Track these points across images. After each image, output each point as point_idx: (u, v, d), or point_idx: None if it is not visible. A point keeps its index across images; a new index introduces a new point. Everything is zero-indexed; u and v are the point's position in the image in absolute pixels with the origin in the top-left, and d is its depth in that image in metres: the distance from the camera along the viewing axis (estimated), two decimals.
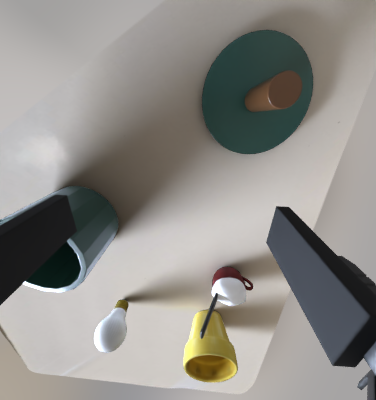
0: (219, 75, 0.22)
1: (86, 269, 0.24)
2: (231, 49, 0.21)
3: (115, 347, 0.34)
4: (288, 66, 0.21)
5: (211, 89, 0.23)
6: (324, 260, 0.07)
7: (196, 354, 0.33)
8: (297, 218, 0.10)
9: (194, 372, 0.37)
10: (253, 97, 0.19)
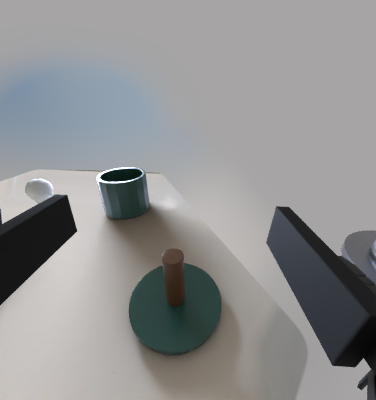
0: (195, 273, 0.31)
1: (105, 182, 0.44)
2: (209, 280, 0.30)
3: (29, 184, 0.46)
4: (197, 322, 0.24)
5: (187, 268, 0.32)
6: (324, 260, 0.07)
7: None
8: (297, 218, 0.10)
9: None
10: None
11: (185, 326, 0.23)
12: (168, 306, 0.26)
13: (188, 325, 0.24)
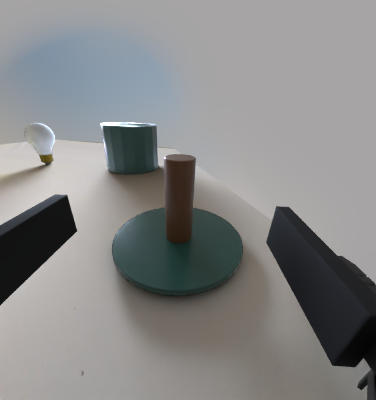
0: (206, 216, 0.23)
1: (109, 125, 0.38)
2: (226, 224, 0.22)
3: (28, 126, 0.42)
4: (207, 262, 0.16)
5: (196, 211, 0.24)
6: (324, 260, 0.07)
7: None
8: (297, 218, 0.10)
9: None
10: None
11: (189, 264, 0.16)
12: (168, 242, 0.18)
13: (194, 263, 0.16)
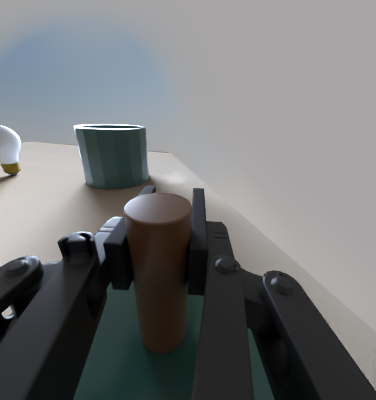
0: None
1: (82, 128, 0.30)
2: None
3: None
4: None
5: None
6: (193, 221, 0.09)
7: None
8: (202, 196, 0.12)
9: None
10: None
11: None
12: (141, 351, 0.10)
13: None
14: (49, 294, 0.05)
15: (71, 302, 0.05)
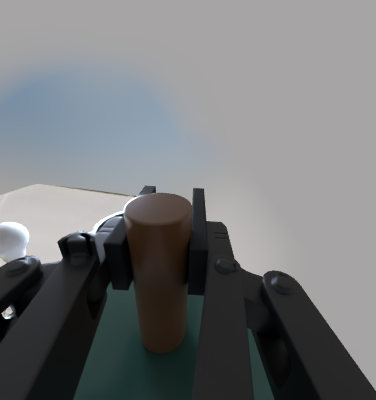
0: None
1: None
2: None
3: None
4: None
5: None
6: (193, 221, 0.09)
7: None
8: (202, 196, 0.12)
9: None
10: None
11: None
12: (141, 352, 0.10)
13: None
14: (49, 294, 0.05)
15: (71, 302, 0.05)
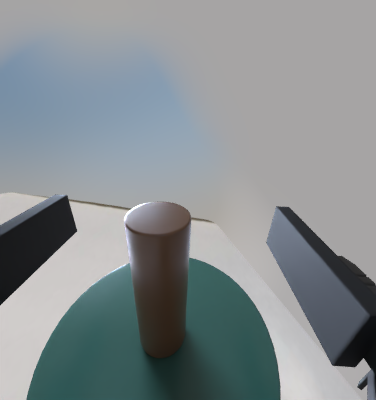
0: (210, 278, 0.15)
1: None
2: (241, 296, 0.14)
3: None
4: None
5: (194, 267, 0.16)
6: (324, 260, 0.07)
7: None
8: (297, 218, 0.10)
9: None
10: None
11: None
12: (141, 356, 0.10)
13: None
14: None
15: None
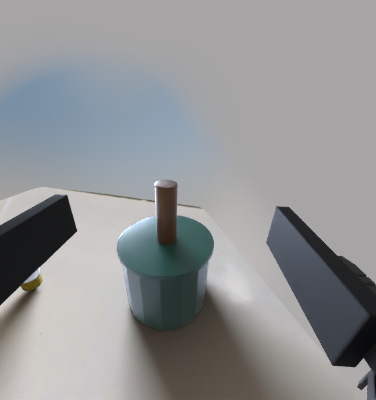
0: (190, 223, 0.30)
1: None
2: (204, 229, 0.28)
3: None
4: (185, 258, 0.23)
5: (182, 219, 0.31)
6: (324, 260, 0.07)
7: None
8: (297, 218, 0.10)
9: None
10: None
11: (173, 259, 0.22)
12: (158, 244, 0.25)
13: (176, 259, 0.22)
14: None
15: None
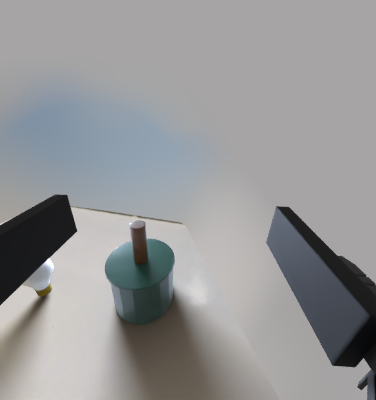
0: (160, 246, 0.40)
1: None
2: (170, 251, 0.39)
3: None
4: (151, 274, 0.33)
5: (155, 242, 0.41)
6: (324, 260, 0.07)
7: None
8: (297, 218, 0.10)
9: None
10: None
11: (142, 276, 0.33)
12: (134, 264, 0.35)
13: (144, 275, 0.33)
14: None
15: None
